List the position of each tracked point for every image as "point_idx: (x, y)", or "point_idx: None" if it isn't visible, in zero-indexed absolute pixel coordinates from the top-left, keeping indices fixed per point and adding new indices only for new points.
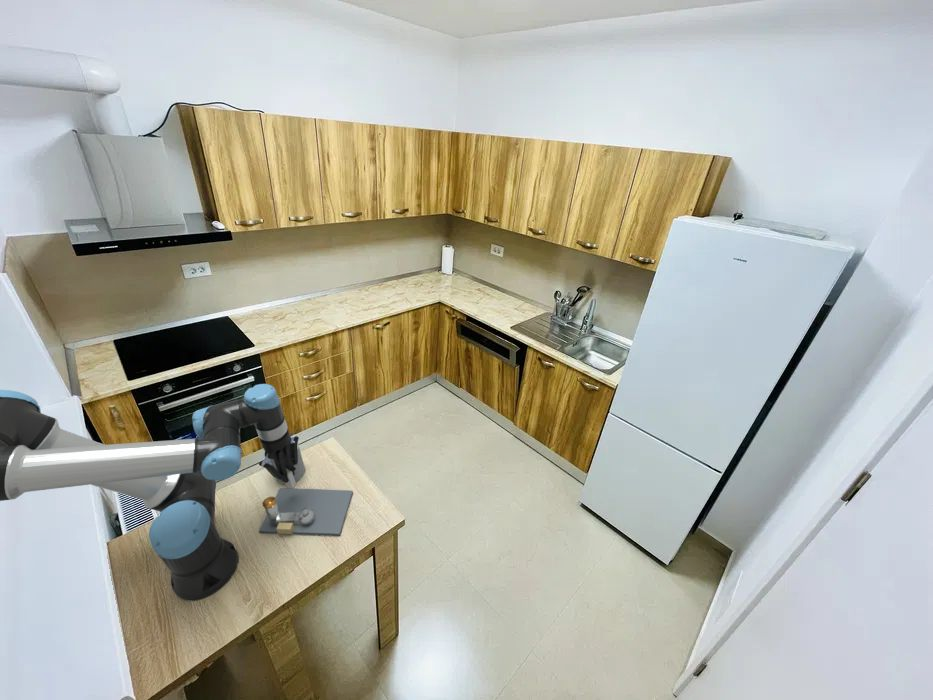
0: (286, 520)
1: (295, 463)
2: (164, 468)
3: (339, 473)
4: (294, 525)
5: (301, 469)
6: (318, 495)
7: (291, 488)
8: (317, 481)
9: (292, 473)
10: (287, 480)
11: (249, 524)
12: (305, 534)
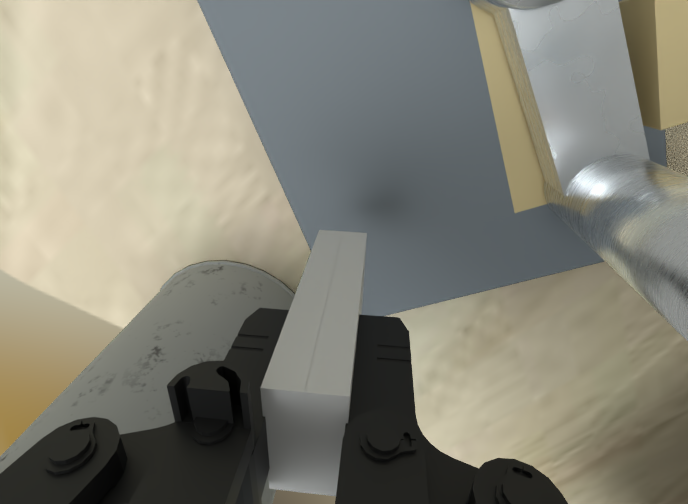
0: (628, 82)
1: (91, 459)
2: None
3: (40, 33)
4: None
5: (179, 295)
6: (276, 31)
7: None
8: (187, 148)
9: (276, 349)
10: (374, 332)
11: (600, 320)
12: None
